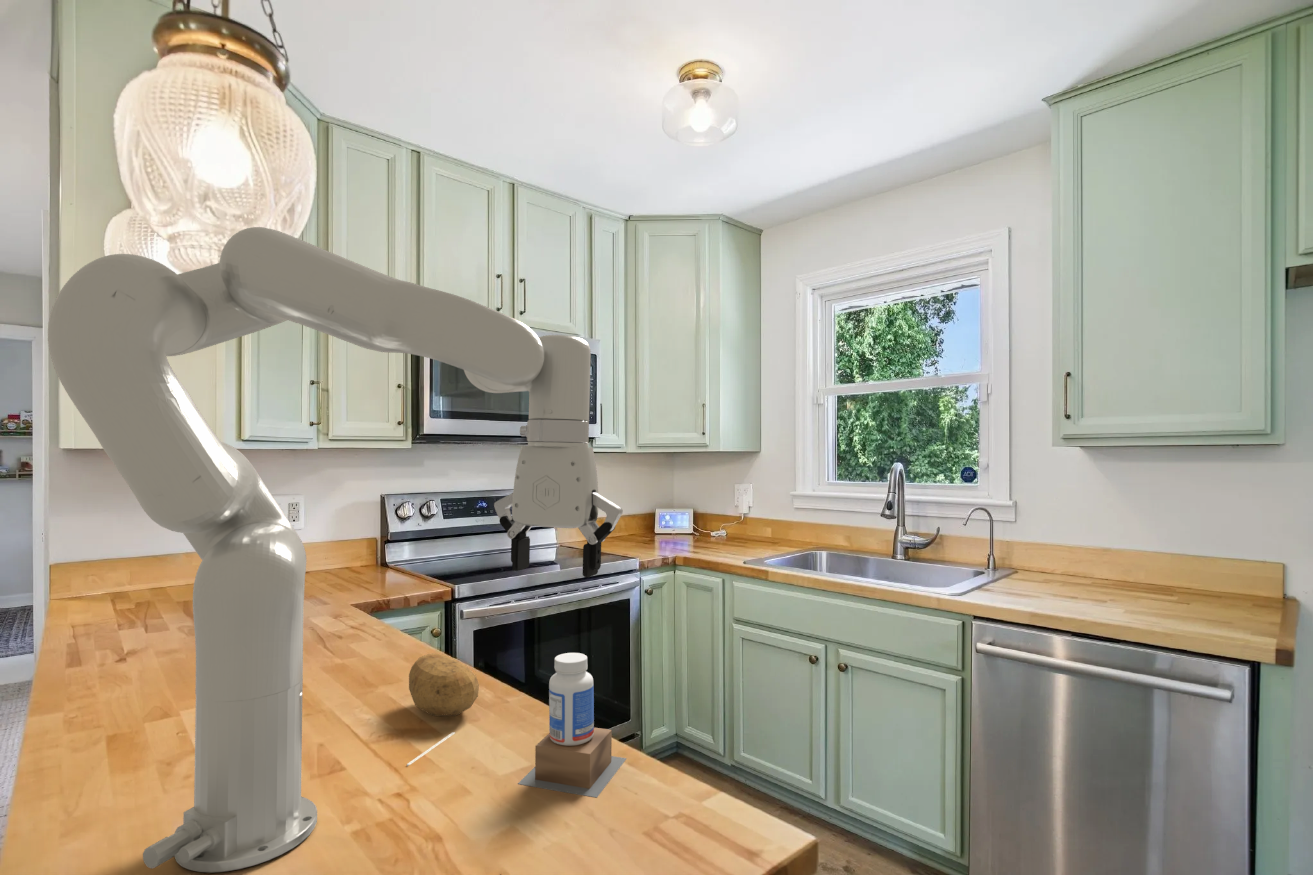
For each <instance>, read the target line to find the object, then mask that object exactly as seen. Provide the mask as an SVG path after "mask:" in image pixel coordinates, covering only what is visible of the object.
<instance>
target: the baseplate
mask: <svg viewBox="0 0 1313 875" xmlns="http://www.w3.org/2000/svg"><path fill="white" fill-rule="evenodd" d="M627 759H628V758H626V757H621V756H615V755H611V763H610V764H609V765H608V767H607V768H606V769H605V770H604V772H603V773H602V774H601V775H600V777H599V778H598V779H597V780H596V782H595V783H594V784H593V785H592V787H591V788H590V789H588V788H582V787H576V786H570V785H564V784H558V783H552V782H546V781H541V780H535V766H533V768H532V769H531V770H530V771H529V772H528V773H527V774H526V775H525V776H524V777H523V778H522V779H521V780H519V781H518V783H517V785H520V786H526V787H527V786H528V787H533V788H539V789H545V790H549V791H550V790H551V791H556V792H562V793H567V794H572V795H573V794H574V795H579V796H584V797H590V798H598V797H599V796H600V794H601V793H602V791H604V790H605V788H606V786H608V784H609V783H610V782H611V780H612V778H613V777H614V776H615V775H616V774H617V772H618V771H619V770H620V768H621V767H622V766H623V764H624V763H625V762H626V760H627Z"/></svg>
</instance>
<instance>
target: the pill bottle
mask: <svg viewBox="0 0 1313 875" xmlns="http://www.w3.org/2000/svg"><path fill="white" fill-rule="evenodd" d="M553 667H554V671H555V673H554V674H553V675H551V677H550V679H549V681H548V682H549V683H548V689H549V690H548V697H549V699H548V705H549V706H548V708H549V709H548V710H549V711H548V712H549V717H548V718H549V720H548V721H549V727H548V728H549V733H550V739H551V740H552V741H553V742H554V743H556V744H559V745H564V746H575V745H580V744H583V743H586V742H588V741H589V740H590V739H591V738H592V737H593V734H594V727H595V726H594V725H595V721H594V720H595V716H594V715H595V713H594V711H595V710H594V708H595V706H594V705H595V704H594V703H595V698H594V696H595V695H594V694H595V693H594V692H595V691H594V678H593V675H592V674H591V673H590V672H588V671H587V670H588V656H587V655H585V653H580V652H567V653H566V652H565V653H561V654H558V655H556V656H555V657H554V666H553Z"/></svg>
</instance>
